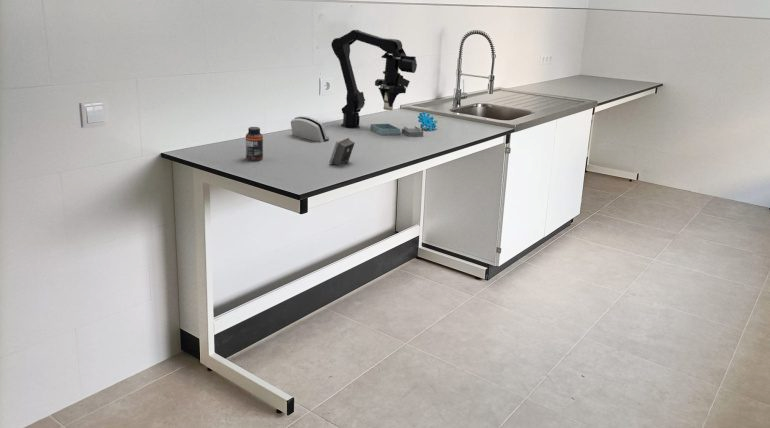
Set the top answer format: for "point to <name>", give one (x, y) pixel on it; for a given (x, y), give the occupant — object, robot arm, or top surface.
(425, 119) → the gear
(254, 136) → the supplement bottle
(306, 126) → the white half-oval case
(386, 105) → the fuse
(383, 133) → the tray
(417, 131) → the fuse block
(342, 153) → the electrical switch
